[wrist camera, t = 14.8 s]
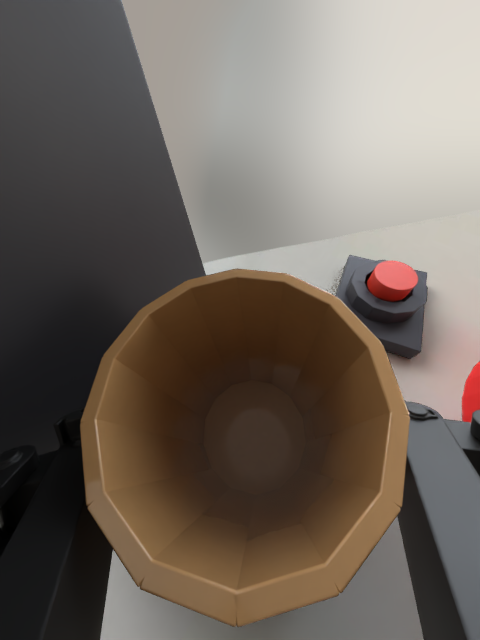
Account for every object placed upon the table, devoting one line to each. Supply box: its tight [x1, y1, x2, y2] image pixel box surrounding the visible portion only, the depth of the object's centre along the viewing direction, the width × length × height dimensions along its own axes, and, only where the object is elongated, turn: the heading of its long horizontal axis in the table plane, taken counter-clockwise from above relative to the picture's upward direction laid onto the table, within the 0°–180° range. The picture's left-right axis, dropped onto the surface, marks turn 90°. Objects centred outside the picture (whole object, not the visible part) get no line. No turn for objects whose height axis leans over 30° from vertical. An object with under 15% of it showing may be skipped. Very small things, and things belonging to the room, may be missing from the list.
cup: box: [80, 269, 410, 627], centre depth 11 cm, size 8×8×12 cm
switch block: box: [336, 255, 428, 359], centre depth 23 cm, size 10×8×4 cm
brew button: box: [367, 261, 418, 302], centre depth 21 cm, size 4×4×2 cm
